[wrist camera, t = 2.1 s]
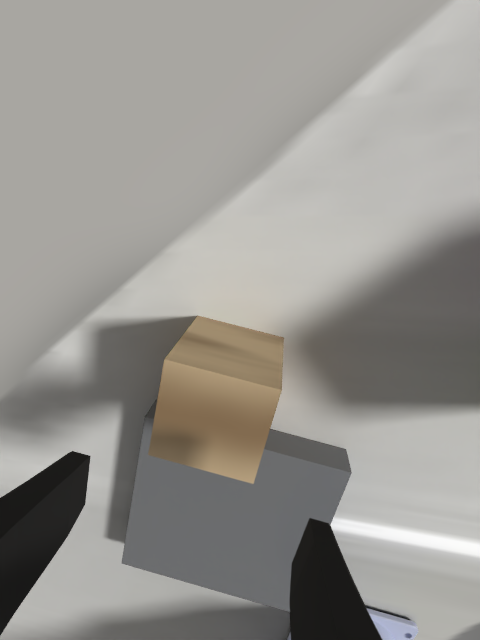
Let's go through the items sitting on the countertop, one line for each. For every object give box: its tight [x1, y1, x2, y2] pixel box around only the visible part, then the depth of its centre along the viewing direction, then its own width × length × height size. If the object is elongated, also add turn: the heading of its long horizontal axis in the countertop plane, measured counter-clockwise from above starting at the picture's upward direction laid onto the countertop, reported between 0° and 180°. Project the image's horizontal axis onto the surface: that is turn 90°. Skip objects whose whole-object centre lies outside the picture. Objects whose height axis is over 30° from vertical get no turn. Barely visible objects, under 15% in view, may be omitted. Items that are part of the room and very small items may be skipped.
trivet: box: [122, 399, 351, 612], centre depth 24 cm, size 12×12×2 cm
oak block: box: [148, 316, 284, 484], centre depth 19 cm, size 5×5×6 cm
